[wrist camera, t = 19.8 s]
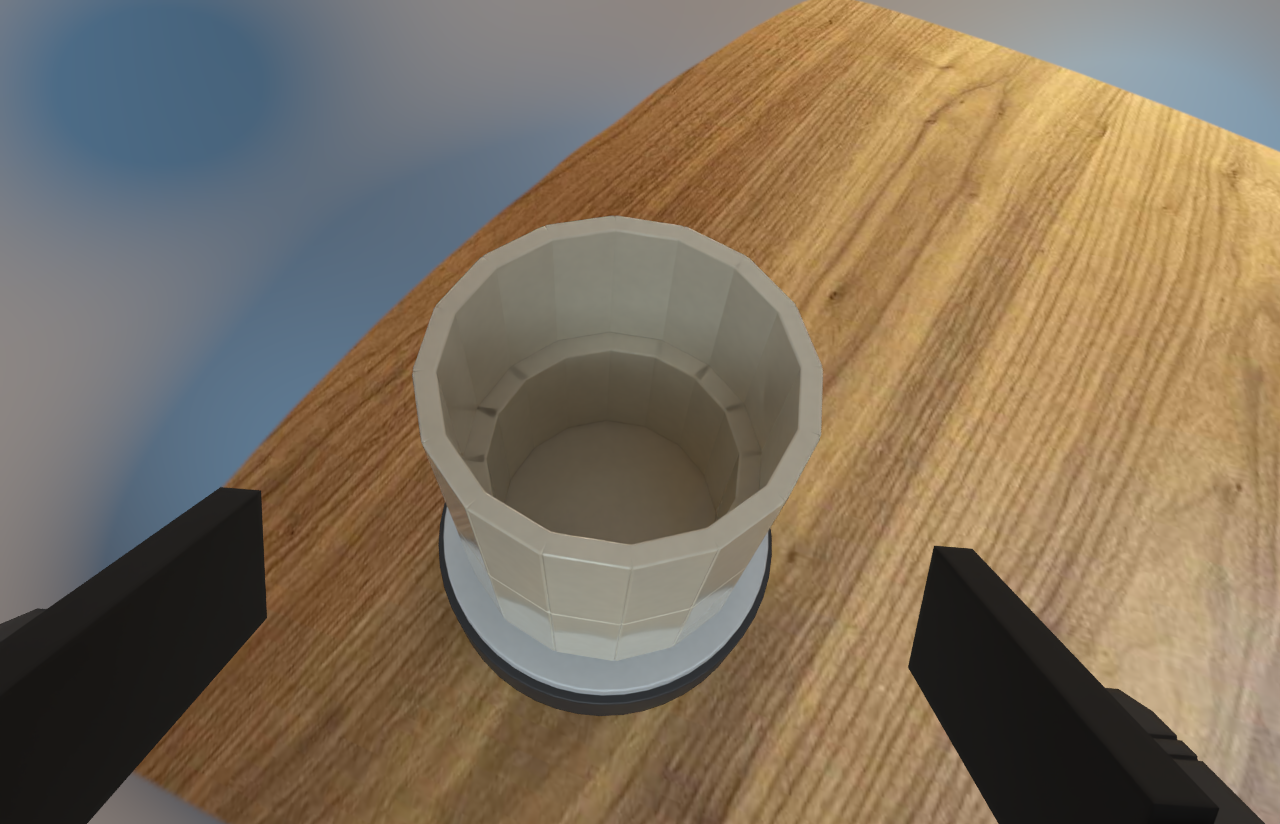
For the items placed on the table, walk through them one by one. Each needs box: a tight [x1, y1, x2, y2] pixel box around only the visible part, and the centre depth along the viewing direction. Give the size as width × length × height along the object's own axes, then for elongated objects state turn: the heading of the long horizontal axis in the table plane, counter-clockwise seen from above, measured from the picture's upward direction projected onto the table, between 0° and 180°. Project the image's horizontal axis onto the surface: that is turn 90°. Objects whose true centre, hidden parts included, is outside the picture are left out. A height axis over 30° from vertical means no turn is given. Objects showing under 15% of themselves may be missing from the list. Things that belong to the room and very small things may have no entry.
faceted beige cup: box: [412, 216, 823, 661], centre depth 24 cm, size 10×10×11 cm
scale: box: [439, 502, 772, 716], centre depth 31 cm, size 13×13×4 cm
